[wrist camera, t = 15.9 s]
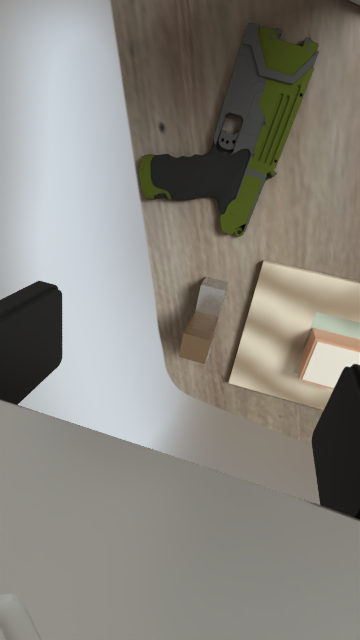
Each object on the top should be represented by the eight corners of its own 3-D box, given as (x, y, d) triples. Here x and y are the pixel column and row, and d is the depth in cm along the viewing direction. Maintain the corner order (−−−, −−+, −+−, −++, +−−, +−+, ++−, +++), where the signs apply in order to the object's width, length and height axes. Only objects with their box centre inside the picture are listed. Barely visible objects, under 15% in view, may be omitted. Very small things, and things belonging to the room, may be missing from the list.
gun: (179, 6, 33) (325, 49, 32) (136, 199, 41) (251, 238, 40) (174, -7, 31) (330, 40, 30) (129, 200, 39) (250, 242, 38)
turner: (206, 276, 43) (189, 303, 34) (228, 282, 43) (217, 311, 34) (191, 342, 47) (173, 381, 39) (212, 347, 47) (198, 388, 38)
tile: (312, 327, 41) (315, 338, 38) (362, 340, 40) (369, 352, 37) (297, 367, 44) (298, 380, 41) (343, 379, 43) (348, 394, 40)
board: (263, 259, 40) (263, 261, 39) (384, 287, 38) (387, 290, 37) (229, 379, 48) (228, 383, 47) (327, 407, 46) (328, 411, 45)
